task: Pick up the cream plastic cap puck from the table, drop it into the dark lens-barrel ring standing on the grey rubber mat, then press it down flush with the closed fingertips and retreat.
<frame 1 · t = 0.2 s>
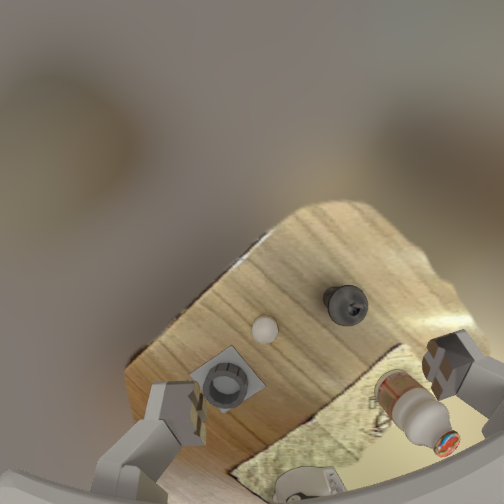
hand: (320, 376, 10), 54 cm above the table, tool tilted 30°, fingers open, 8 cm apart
beverage cup: (333, 297, 63), on the table
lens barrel: (227, 380, 63), on the table
fruit juice: (391, 386, 62), on the table
cap: (264, 326, 63), on the table
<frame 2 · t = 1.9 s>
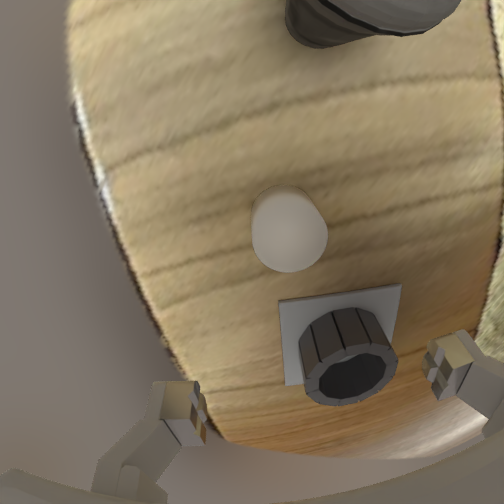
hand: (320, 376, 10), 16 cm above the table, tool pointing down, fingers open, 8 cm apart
beverage cup: (315, 22, 17), on the table
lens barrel: (339, 339, 30), on the table
cap: (282, 215, 24), on the table
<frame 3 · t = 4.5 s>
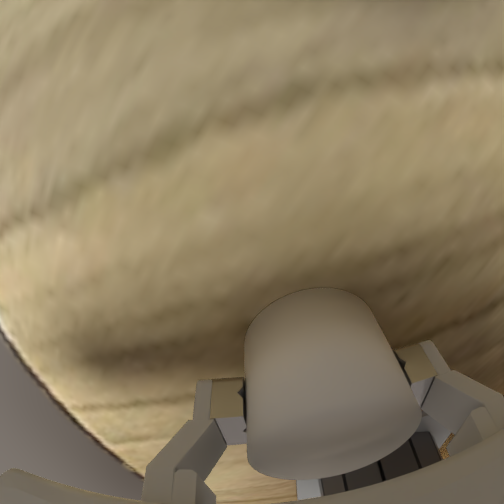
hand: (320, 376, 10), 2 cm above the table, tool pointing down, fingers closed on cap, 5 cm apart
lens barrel: (376, 459, 17), on the table
cap: (311, 343, 11), on the table, touching gripper
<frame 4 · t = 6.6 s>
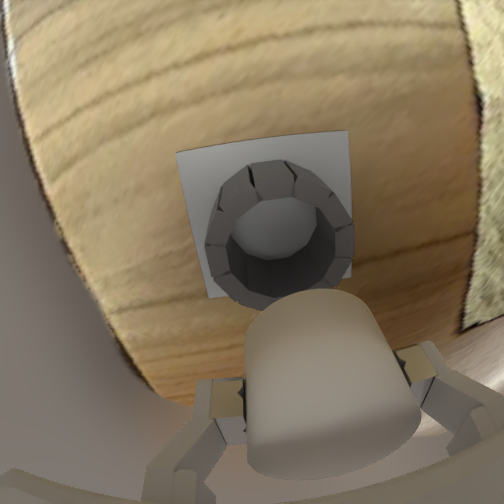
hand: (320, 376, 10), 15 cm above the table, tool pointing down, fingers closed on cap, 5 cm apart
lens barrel: (272, 218, 23), on the table
cap: (311, 344, 11), point 13 cm above the table, touching gripper
when the fingers open (7 cm above the table, at t = 8.8 s): cap drops 5 cm, resting on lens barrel.
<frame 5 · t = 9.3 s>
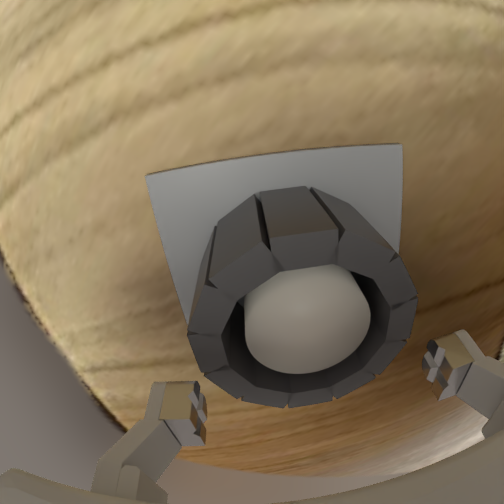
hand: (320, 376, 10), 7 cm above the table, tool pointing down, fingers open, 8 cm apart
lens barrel: (289, 268, 16), on the table
cap: (293, 272, 16), resting on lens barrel
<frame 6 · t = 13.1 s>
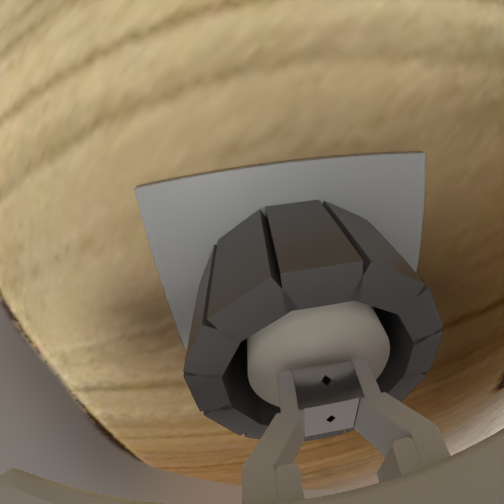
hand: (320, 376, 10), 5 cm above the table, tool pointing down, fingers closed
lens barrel: (298, 290, 14), on the table
cap: (302, 296, 14), resting on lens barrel
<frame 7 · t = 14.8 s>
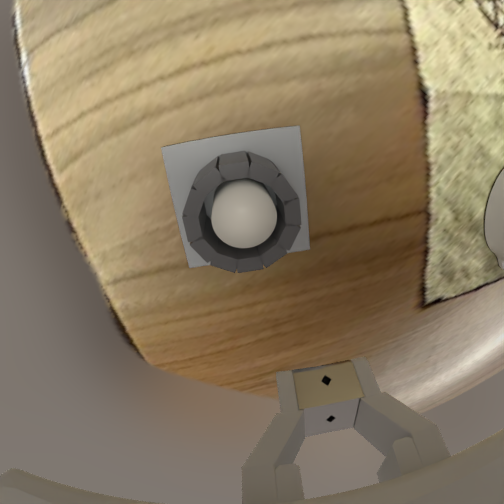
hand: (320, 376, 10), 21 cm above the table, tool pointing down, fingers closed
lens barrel: (240, 199, 28), on the table
cap: (241, 200, 27), resting on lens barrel
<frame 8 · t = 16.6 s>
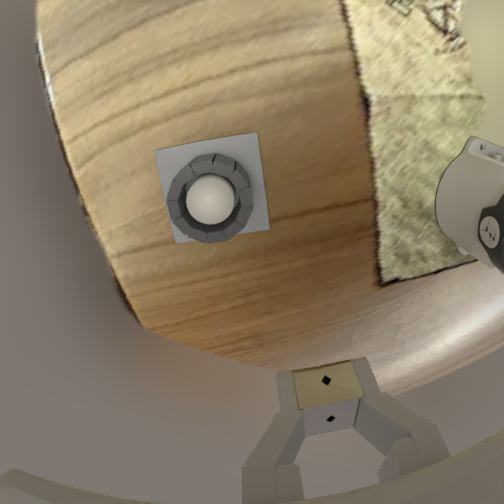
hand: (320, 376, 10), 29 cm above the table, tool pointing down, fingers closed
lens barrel: (213, 189, 36), on the table
cap: (214, 190, 36), resting on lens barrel
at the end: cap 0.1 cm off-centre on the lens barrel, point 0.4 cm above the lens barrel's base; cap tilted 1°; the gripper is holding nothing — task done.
